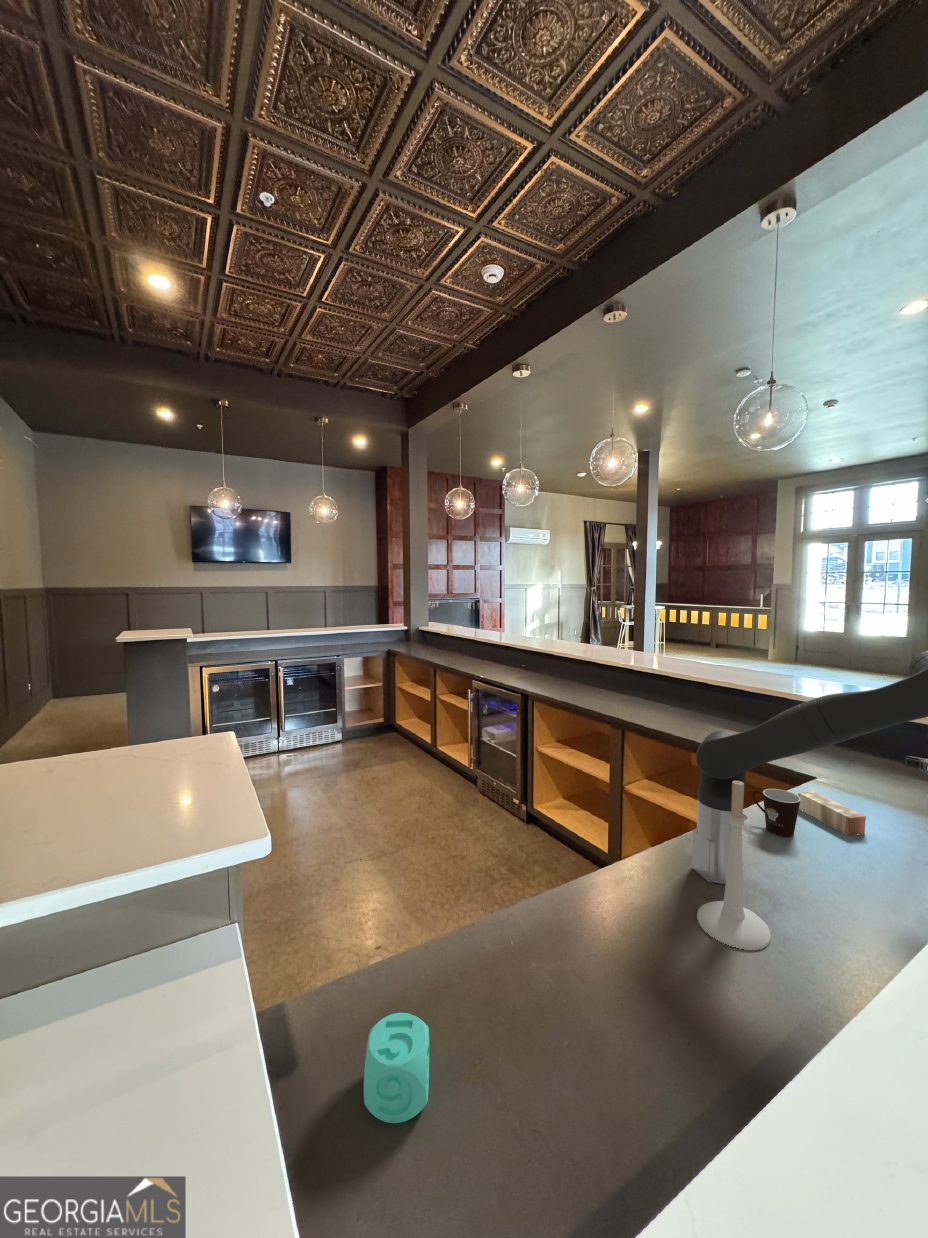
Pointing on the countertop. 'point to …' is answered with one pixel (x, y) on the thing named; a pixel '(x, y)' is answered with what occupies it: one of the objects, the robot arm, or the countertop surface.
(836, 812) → the maple block
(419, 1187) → the countertop surface
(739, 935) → the candlestick
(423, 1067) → the decorative dice
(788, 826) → the coffee mug
